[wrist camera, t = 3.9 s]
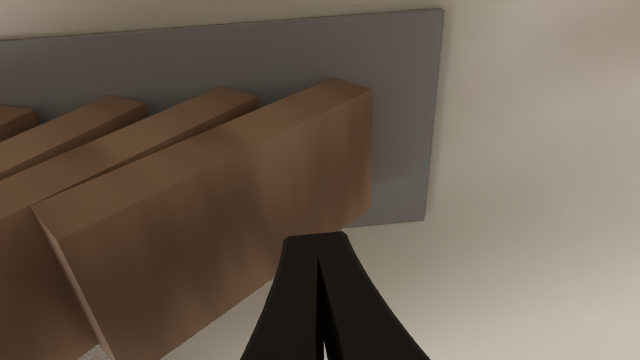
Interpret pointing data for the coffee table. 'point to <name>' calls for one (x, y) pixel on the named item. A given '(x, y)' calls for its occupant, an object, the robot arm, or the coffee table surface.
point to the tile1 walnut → (209, 216)
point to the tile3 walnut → (68, 133)
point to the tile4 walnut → (16, 121)
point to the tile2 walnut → (32, 247)
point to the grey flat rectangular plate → (257, 80)
